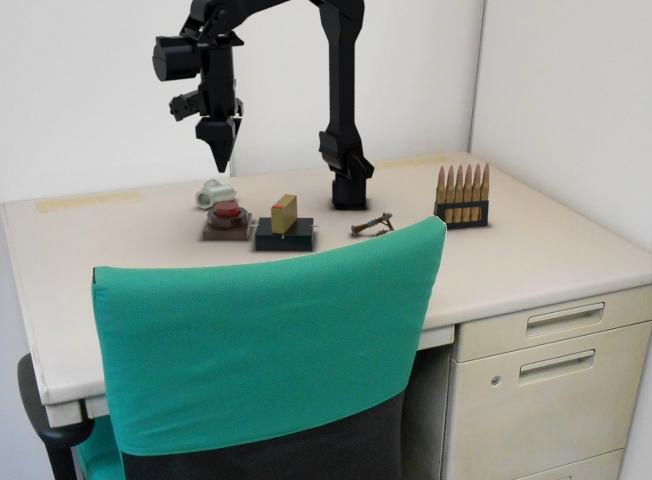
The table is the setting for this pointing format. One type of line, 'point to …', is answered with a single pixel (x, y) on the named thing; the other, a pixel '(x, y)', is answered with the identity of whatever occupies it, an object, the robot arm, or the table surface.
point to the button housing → (227, 226)
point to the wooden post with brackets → (372, 223)
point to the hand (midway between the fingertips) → (224, 166)
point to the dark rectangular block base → (285, 236)
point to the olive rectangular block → (284, 213)
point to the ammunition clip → (463, 198)
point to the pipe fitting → (214, 194)
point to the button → (226, 209)
